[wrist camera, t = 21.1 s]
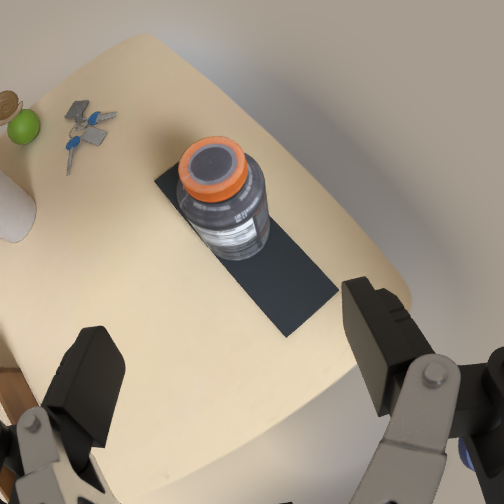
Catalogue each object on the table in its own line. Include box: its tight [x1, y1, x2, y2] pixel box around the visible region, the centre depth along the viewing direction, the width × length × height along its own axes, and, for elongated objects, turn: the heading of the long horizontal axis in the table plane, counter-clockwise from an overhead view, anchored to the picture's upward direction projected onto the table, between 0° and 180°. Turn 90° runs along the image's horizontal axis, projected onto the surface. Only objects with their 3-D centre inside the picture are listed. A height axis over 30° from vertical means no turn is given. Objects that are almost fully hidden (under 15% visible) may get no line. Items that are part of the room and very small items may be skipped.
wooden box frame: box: [0, 367, 39, 503], centre depth 21 cm, size 14×12×5 cm
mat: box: [154, 161, 339, 338], centre depth 28 cm, size 20×6×1 cm, turn 40°
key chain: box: [65, 100, 117, 176], centre depth 34 cm, size 14×8×1 cm, turn 23°
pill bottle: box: [177, 136, 270, 261], centre depth 23 cm, size 6×6×11 cm
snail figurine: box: [0, 91, 40, 145], centre depth 30 cm, size 5×6×12 cm
